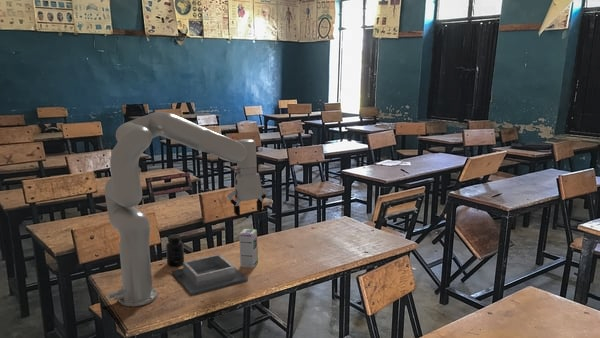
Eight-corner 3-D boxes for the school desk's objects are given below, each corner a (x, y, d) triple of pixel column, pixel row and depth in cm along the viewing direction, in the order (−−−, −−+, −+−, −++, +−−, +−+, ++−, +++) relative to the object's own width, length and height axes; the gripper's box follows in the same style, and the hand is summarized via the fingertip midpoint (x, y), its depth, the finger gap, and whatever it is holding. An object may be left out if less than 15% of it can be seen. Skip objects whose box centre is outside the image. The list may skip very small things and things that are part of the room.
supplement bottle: (166, 262, 186) (164, 234, 184) (182, 259, 189) (181, 232, 187) (168, 268, 180) (166, 240, 178) (185, 265, 183) (184, 237, 180)
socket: (191, 295, 158) (190, 282, 157) (172, 273, 176) (171, 261, 175) (247, 280, 169) (247, 268, 168) (224, 261, 187) (223, 249, 186)
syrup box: (253, 268, 180) (253, 233, 178) (239, 267, 182) (239, 232, 179) (258, 262, 186) (257, 229, 183) (244, 261, 187) (243, 228, 184)
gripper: (230, 175, 168) (232, 219, 172) (271, 169, 178) (272, 211, 181) (222, 172, 175) (224, 214, 178) (262, 166, 184) (263, 207, 187)
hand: (248, 212), depth 180 cm, fingers open, 9 cm apart
